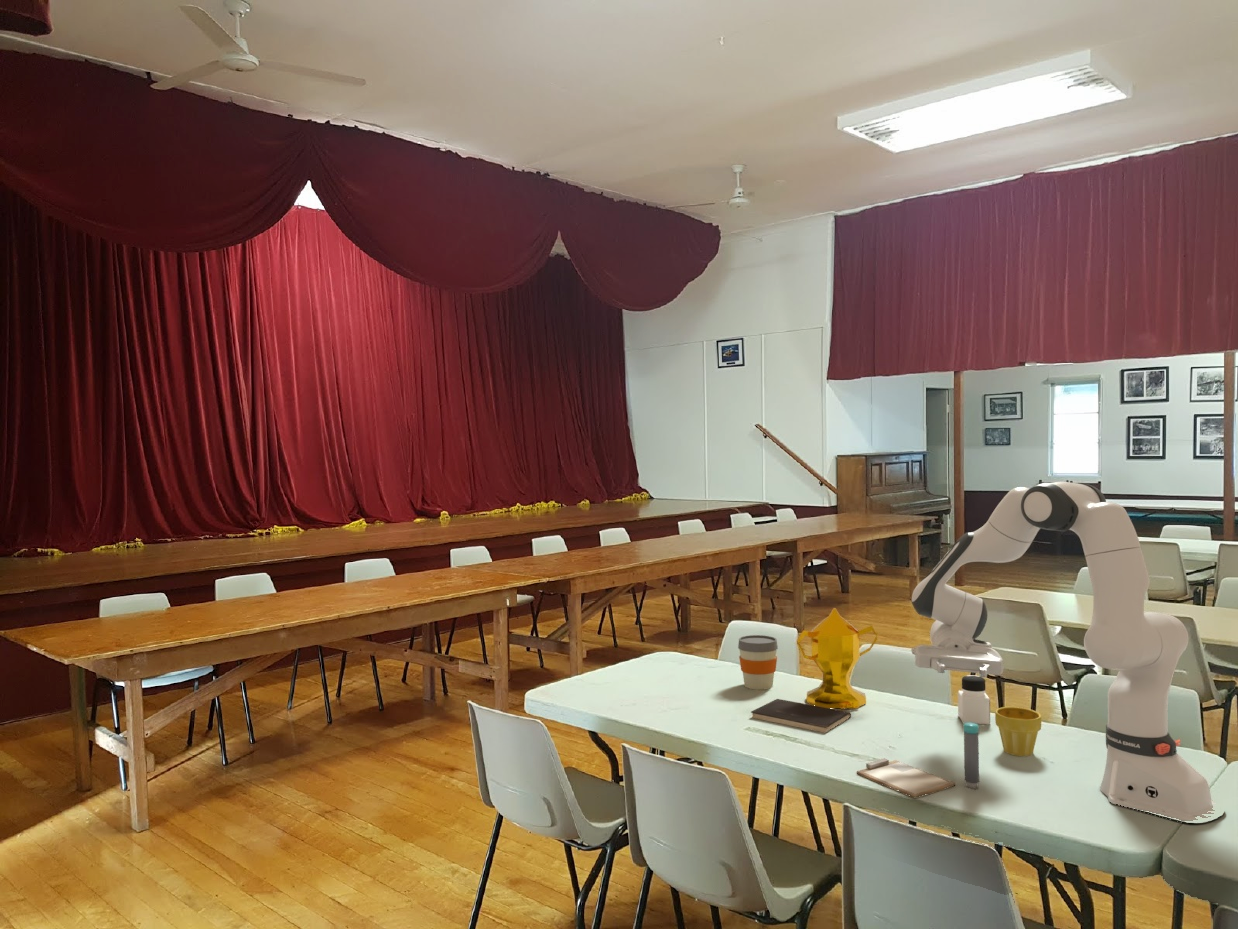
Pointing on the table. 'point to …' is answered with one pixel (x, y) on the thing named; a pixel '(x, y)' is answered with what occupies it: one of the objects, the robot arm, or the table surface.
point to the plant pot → (1018, 729)
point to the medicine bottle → (973, 701)
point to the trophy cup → (835, 661)
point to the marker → (971, 755)
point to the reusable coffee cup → (758, 660)
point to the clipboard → (904, 777)
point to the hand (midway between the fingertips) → (962, 672)
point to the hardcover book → (801, 715)
